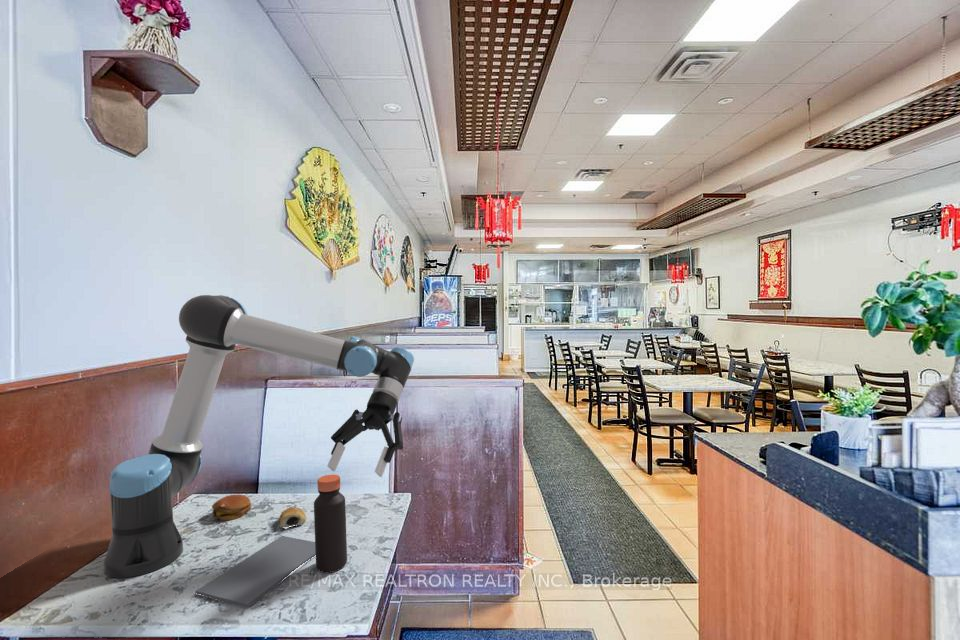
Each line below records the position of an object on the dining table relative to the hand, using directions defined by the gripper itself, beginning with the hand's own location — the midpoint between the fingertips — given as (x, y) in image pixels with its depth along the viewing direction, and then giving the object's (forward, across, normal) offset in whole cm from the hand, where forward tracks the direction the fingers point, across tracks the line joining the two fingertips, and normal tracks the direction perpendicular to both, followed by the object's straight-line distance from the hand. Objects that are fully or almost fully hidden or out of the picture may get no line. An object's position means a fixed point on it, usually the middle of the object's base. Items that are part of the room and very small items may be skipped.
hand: (354, 471), depth 113 cm
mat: (+23, +14, -3) cm, 27 cm away
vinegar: (+19, +1, -7) cm, 21 cm away
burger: (+10, +46, -17) cm, 50 cm away
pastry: (+9, +25, -18) cm, 32 cm away
